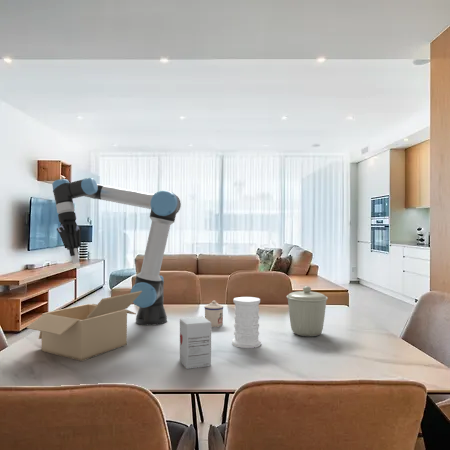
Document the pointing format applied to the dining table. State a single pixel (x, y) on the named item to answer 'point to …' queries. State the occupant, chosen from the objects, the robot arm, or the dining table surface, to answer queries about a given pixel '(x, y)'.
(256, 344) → the decorative container
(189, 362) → the supplement box
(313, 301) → the canister
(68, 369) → the dining table surface
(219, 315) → the teacup with lid
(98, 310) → the carton flap
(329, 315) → the dining table surface
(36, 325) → the carton
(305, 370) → the dining table surface
